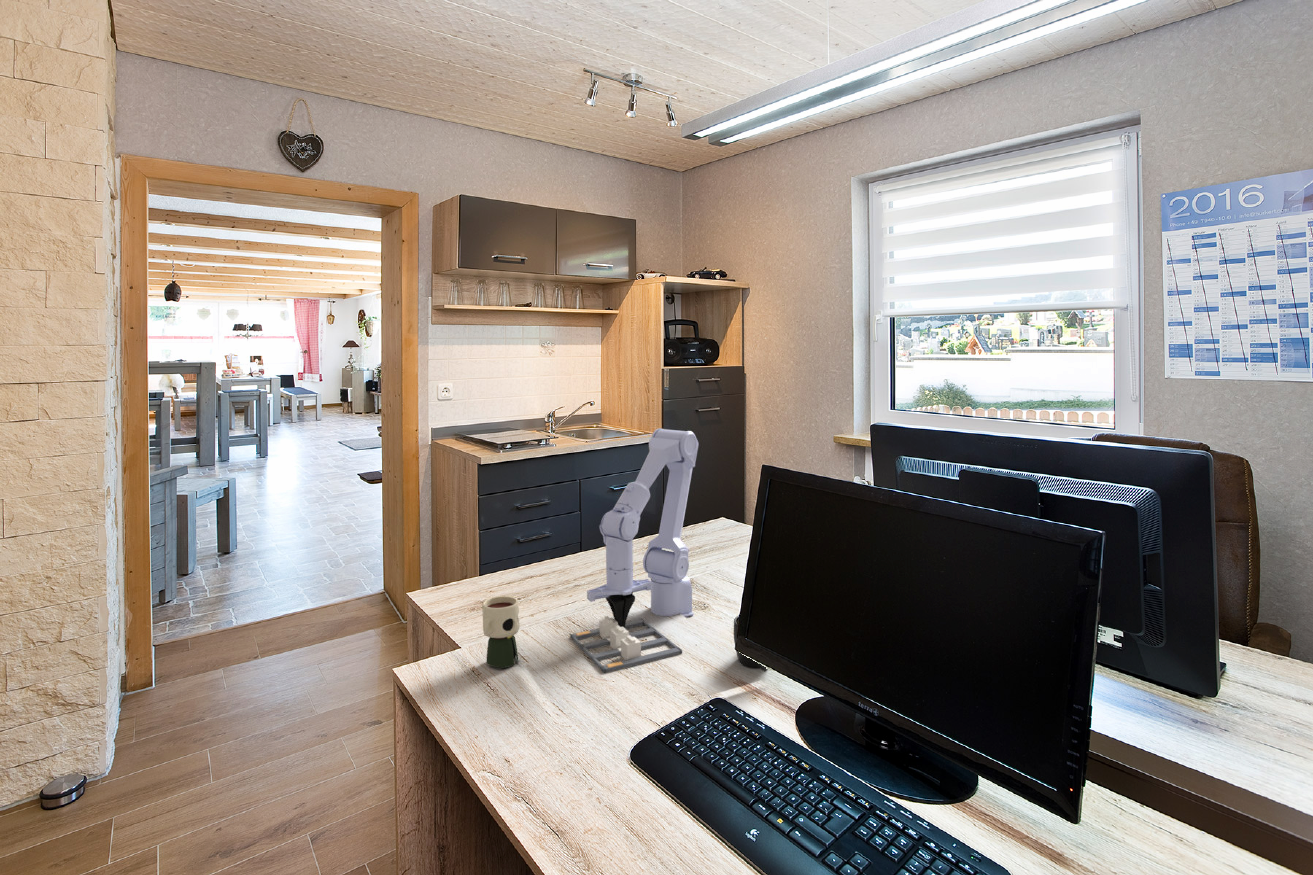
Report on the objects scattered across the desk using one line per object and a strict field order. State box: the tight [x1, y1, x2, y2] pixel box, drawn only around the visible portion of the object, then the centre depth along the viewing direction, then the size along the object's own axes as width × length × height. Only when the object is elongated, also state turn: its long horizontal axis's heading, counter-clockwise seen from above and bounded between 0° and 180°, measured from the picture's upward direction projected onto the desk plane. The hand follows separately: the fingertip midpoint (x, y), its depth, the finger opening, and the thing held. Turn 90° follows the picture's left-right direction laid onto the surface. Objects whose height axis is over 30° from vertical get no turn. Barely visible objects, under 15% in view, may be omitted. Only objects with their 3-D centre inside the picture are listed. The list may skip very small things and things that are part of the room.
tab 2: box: [609, 625, 630, 649], centre depth 141 cm, size 3×3×4 cm
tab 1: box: [598, 615, 618, 639], centre depth 145 cm, size 3×3×4 cm
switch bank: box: [569, 618, 683, 674], centre depth 141 cm, size 17×18×2 cm
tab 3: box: [620, 635, 642, 660], centre depth 136 cm, size 3×3×4 cm
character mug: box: [481, 595, 521, 669], centre depth 135 cm, size 11×7×13 cm, turn 158°
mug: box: [733, 615, 768, 672], centre depth 135 cm, size 8×12×10 cm
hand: (620, 626), depth 147 cm, fingers closed
